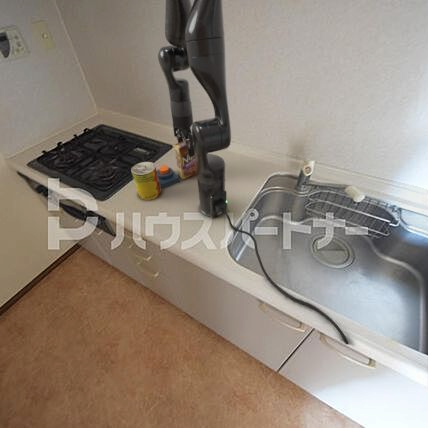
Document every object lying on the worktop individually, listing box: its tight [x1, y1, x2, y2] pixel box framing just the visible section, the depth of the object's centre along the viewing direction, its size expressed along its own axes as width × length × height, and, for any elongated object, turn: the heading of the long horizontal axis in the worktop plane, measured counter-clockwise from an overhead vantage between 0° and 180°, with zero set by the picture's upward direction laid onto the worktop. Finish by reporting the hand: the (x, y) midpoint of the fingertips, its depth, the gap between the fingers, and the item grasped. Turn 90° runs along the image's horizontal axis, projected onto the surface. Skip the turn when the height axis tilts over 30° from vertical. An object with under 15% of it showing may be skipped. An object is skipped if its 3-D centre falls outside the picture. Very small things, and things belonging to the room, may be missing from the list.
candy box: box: [174, 140, 197, 180], centre depth 100 cm, size 9×4×15 cm, turn 123°
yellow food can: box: [130, 160, 162, 201], centre depth 93 cm, size 9×9×12 cm
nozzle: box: [158, 165, 170, 175], centre depth 100 cm, size 4×4×2 cm
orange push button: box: [156, 167, 180, 189], centre depth 102 cm, size 10×8×4 cm
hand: (186, 151), depth 97 cm, fingers open, 8 cm apart
